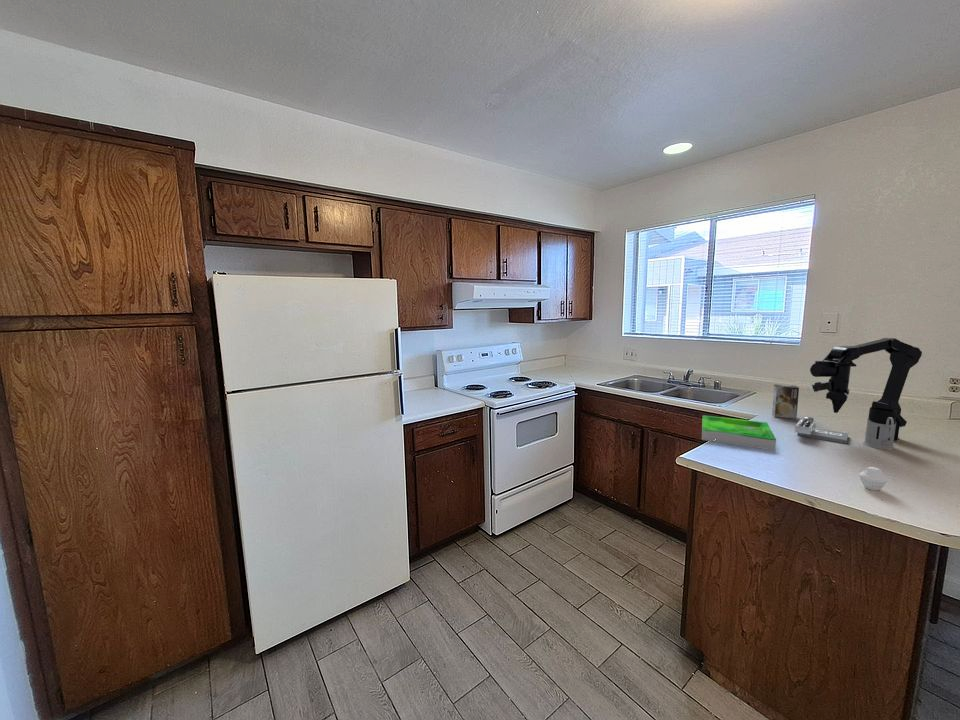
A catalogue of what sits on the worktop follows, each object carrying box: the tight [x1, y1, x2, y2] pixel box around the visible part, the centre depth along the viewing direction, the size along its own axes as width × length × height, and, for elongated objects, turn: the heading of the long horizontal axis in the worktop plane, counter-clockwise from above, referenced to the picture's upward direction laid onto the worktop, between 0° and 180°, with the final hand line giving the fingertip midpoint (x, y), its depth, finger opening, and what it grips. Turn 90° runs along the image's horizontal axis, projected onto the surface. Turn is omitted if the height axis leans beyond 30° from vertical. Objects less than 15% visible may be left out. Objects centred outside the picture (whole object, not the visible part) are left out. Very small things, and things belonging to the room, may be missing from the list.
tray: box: [701, 414, 777, 451], centre depth 164 cm, size 25×25×5 cm
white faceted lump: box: [858, 466, 889, 491], centre depth 115 cm, size 6×6×7 cm
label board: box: [797, 427, 849, 445], centre depth 163 cm, size 16×12×2 cm
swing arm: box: [794, 416, 816, 435], centre depth 163 cm, size 15×5×5 cm, turn 132°
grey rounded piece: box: [862, 407, 897, 450], centre depth 148 cm, size 9×14×15 cm, turn 149°
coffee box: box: [771, 384, 800, 419], centre depth 192 cm, size 9×6×16 cm
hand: (835, 412), depth 159 cm, fingers closed
